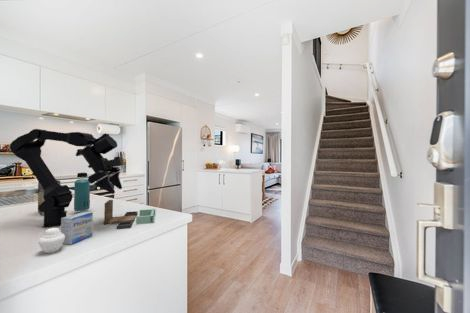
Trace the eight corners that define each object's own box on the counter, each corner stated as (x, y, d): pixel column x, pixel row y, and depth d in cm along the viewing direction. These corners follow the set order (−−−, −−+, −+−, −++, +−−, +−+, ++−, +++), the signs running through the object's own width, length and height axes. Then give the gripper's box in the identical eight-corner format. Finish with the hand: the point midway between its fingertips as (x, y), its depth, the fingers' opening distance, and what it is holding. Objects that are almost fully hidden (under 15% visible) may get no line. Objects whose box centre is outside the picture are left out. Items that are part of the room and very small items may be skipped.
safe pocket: (136, 224, 87) (136, 217, 87) (139, 216, 99) (139, 209, 99) (153, 222, 89) (153, 215, 89) (155, 215, 101) (155, 208, 101)
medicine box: (71, 245, 66) (71, 218, 66) (60, 243, 67) (60, 217, 67) (92, 236, 74) (93, 212, 74) (82, 234, 75) (83, 211, 75)
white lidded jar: (56, 245, 66) (56, 223, 66) (69, 248, 64) (70, 225, 64) (32, 253, 60) (32, 230, 60) (46, 257, 58) (47, 232, 58)
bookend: (104, 224, 86) (104, 203, 86) (108, 219, 92) (109, 199, 92) (133, 222, 89) (133, 202, 89) (135, 217, 96) (135, 198, 96)
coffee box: (36, 213, 100) (37, 180, 100) (53, 210, 105) (54, 179, 105) (43, 216, 95) (43, 181, 95) (60, 213, 101) (61, 180, 100)
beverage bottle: (83, 214, 99) (84, 173, 99) (69, 214, 99) (70, 173, 99) (92, 210, 106) (93, 172, 106) (80, 210, 106) (81, 172, 106)
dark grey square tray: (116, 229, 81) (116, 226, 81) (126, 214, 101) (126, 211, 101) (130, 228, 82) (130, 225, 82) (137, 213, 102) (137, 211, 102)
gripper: (104, 149, 77) (128, 184, 79) (120, 149, 95) (140, 177, 98) (76, 165, 75) (101, 200, 78) (98, 162, 93) (118, 190, 96)
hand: (117, 190), depth 87 cm, fingers open, 9 cm apart
